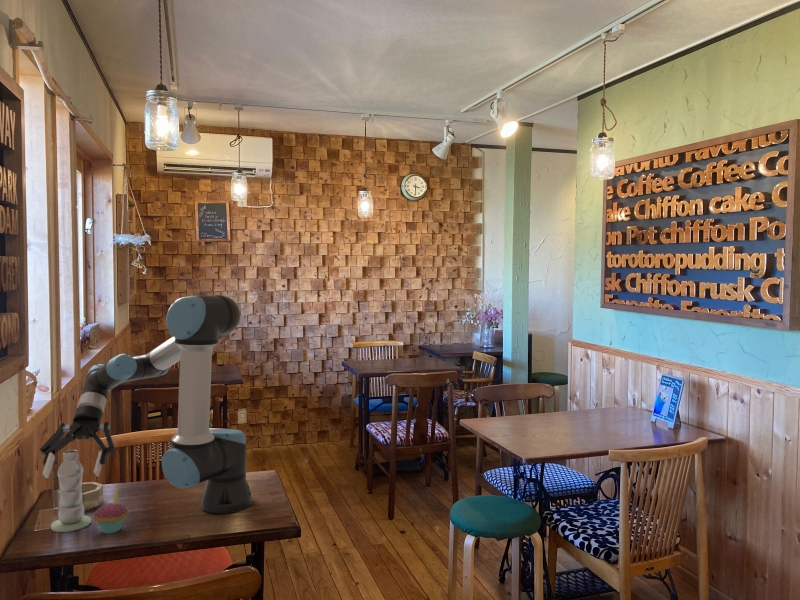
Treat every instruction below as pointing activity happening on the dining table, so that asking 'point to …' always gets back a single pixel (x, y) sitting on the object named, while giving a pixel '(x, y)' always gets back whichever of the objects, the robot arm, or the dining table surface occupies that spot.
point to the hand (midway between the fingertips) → (70, 475)
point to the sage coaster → (70, 525)
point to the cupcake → (111, 516)
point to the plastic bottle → (70, 488)
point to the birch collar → (90, 495)
